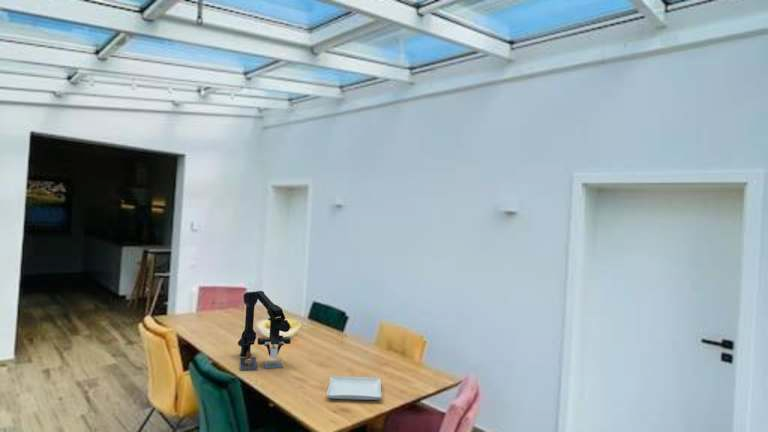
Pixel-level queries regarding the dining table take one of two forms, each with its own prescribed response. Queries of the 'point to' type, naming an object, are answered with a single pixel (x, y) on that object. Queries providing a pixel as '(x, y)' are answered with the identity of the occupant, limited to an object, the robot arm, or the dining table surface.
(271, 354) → the lever cap
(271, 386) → the dining table surface
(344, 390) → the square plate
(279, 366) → the rest mat
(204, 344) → the dining table surface
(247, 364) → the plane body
